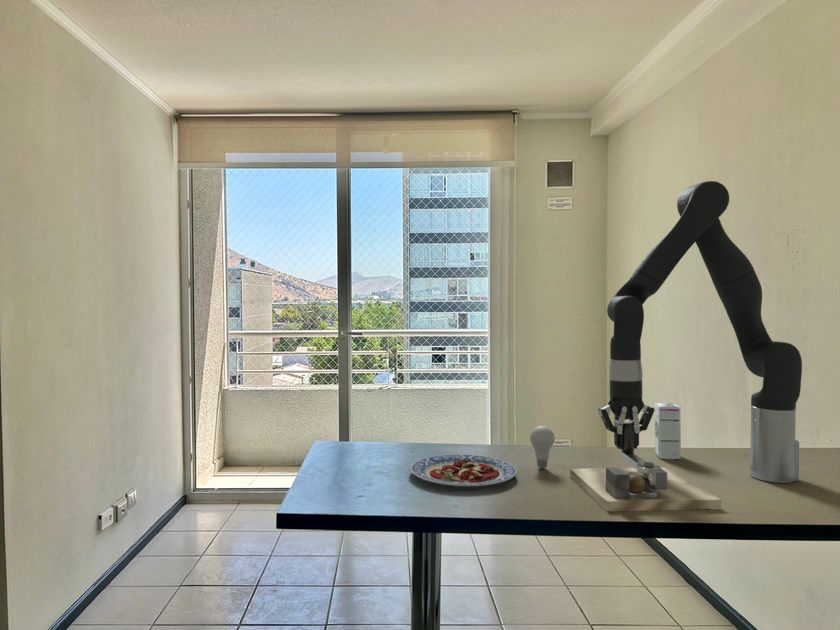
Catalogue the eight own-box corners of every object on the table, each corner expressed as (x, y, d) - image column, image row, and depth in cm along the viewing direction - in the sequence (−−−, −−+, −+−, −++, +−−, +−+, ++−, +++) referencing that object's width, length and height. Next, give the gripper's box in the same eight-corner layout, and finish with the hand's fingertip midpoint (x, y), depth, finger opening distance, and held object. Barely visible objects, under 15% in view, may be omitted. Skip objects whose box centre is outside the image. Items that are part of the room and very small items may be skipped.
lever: (635, 461, 139) (636, 422, 138) (673, 489, 118) (673, 443, 118) (615, 461, 139) (615, 422, 138) (649, 489, 118) (649, 443, 118)
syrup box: (681, 460, 153) (681, 406, 153) (658, 458, 154) (658, 405, 154) (676, 454, 159) (676, 403, 158) (653, 453, 160) (654, 402, 160)
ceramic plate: (458, 457, 156) (458, 446, 156) (537, 477, 138) (537, 465, 138) (388, 476, 138) (388, 464, 138) (468, 502, 120) (468, 488, 120)
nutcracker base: (665, 475, 139) (666, 447, 139) (721, 509, 116) (721, 475, 116) (570, 476, 138) (570, 448, 137) (606, 511, 115) (607, 477, 114)
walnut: (643, 488, 121) (636, 470, 122) (651, 491, 117) (644, 472, 118) (626, 495, 121) (619, 477, 121) (634, 498, 117) (626, 479, 117)
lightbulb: (556, 467, 146) (556, 424, 146) (551, 473, 140) (551, 429, 140) (533, 464, 148) (533, 422, 148) (527, 470, 143) (527, 427, 143)
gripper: (646, 374, 142) (647, 443, 142) (591, 376, 141) (592, 445, 141) (661, 379, 134) (662, 451, 135) (603, 380, 133) (604, 453, 134)
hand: (626, 447), depth 138 cm, fingers closed on lever, 3 cm apart
